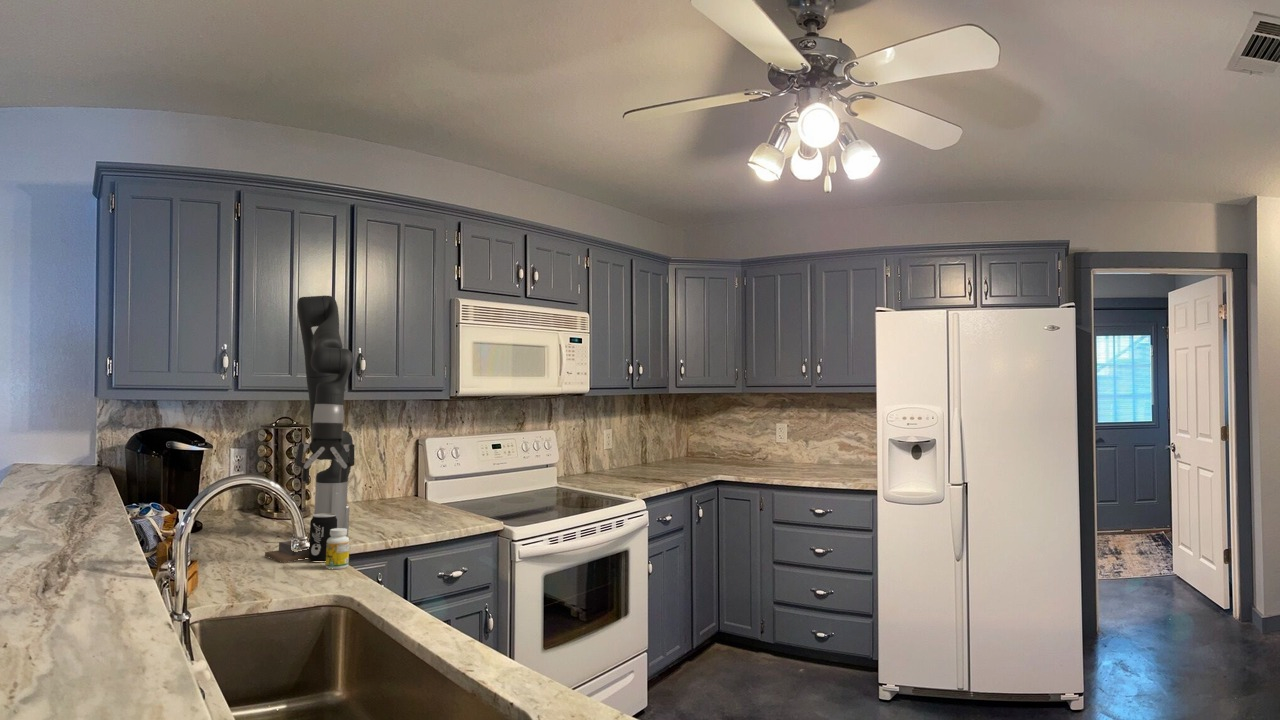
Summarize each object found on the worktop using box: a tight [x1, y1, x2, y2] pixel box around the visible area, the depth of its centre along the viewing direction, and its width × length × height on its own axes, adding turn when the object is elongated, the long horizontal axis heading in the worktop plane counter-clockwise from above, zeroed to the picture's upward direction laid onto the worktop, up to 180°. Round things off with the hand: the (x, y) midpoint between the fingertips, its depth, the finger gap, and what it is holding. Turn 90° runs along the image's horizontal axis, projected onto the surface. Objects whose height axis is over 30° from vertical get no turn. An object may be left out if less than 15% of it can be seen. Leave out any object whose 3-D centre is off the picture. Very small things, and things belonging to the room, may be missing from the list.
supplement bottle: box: [325, 528, 350, 570], centre depth 179 cm, size 5×5×10 cm
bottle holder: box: [264, 537, 310, 563], centre depth 191 cm, size 14×11×4 cm
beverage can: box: [308, 513, 337, 562], centre depth 186 cm, size 7×7×12 cm
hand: (323, 483), depth 186 cm, fingers open, 8 cm apart
